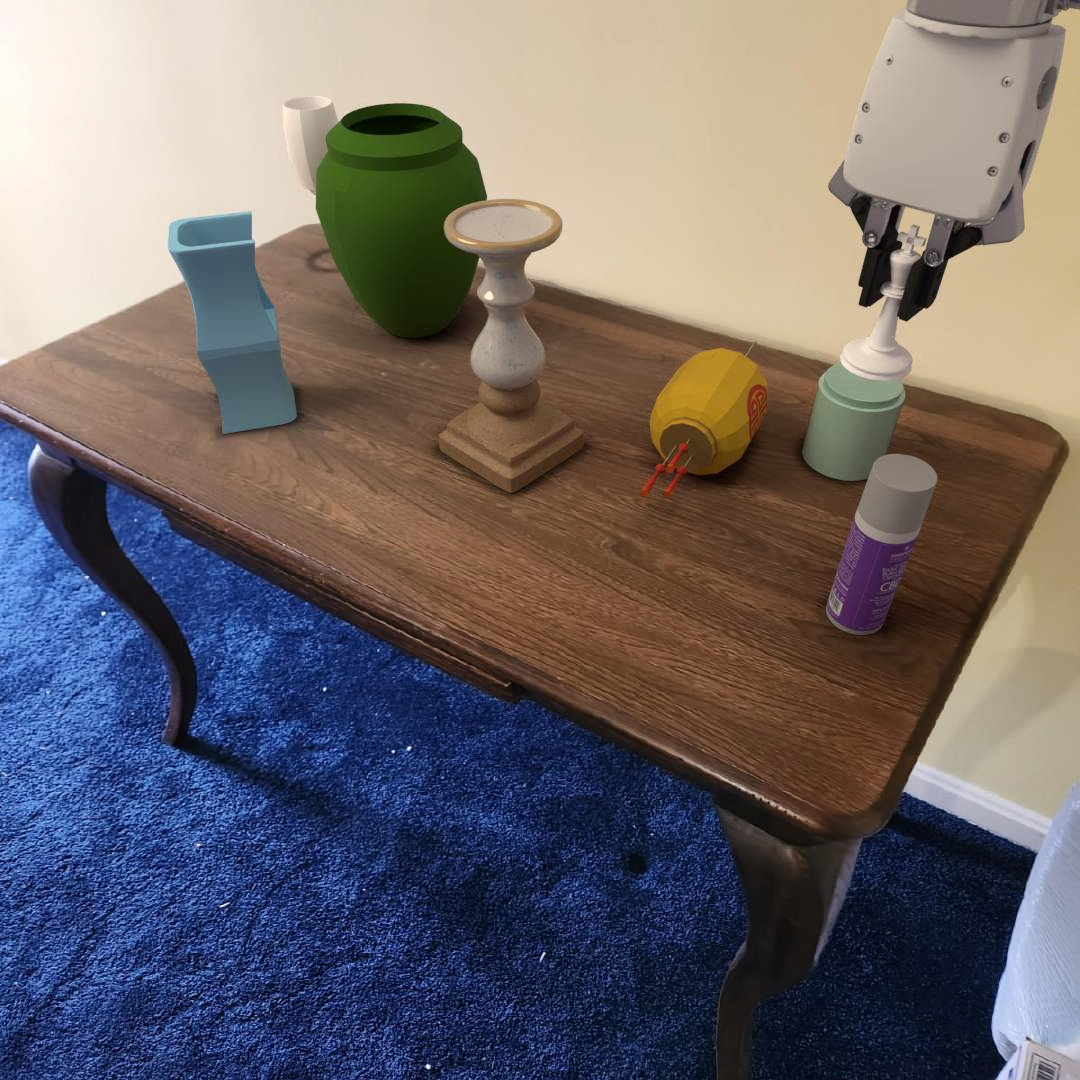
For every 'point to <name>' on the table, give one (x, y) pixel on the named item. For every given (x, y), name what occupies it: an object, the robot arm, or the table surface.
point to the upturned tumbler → (851, 423)
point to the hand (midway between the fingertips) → (892, 304)
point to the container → (880, 542)
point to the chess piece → (886, 323)
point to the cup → (307, 135)
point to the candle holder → (507, 351)
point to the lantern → (707, 414)
